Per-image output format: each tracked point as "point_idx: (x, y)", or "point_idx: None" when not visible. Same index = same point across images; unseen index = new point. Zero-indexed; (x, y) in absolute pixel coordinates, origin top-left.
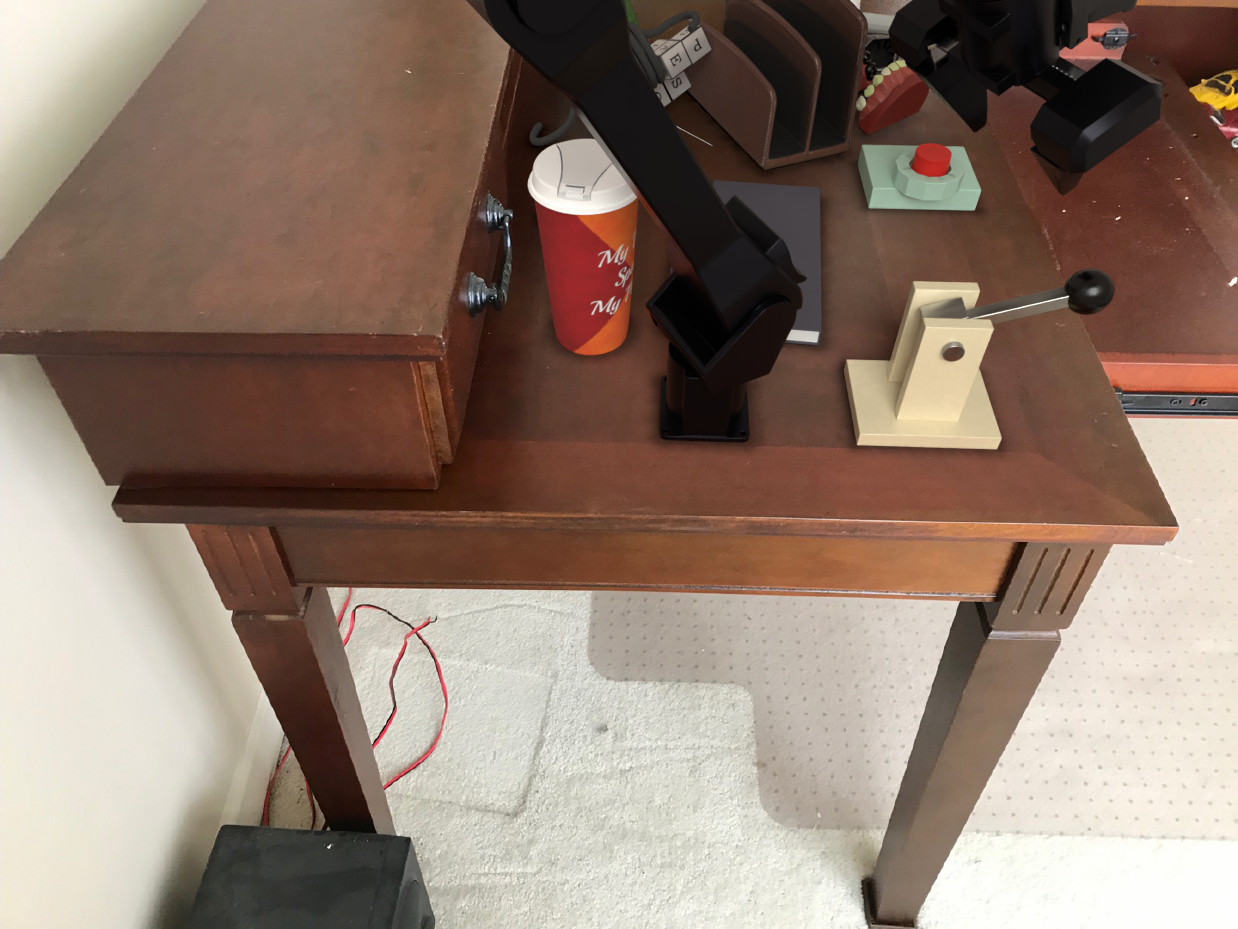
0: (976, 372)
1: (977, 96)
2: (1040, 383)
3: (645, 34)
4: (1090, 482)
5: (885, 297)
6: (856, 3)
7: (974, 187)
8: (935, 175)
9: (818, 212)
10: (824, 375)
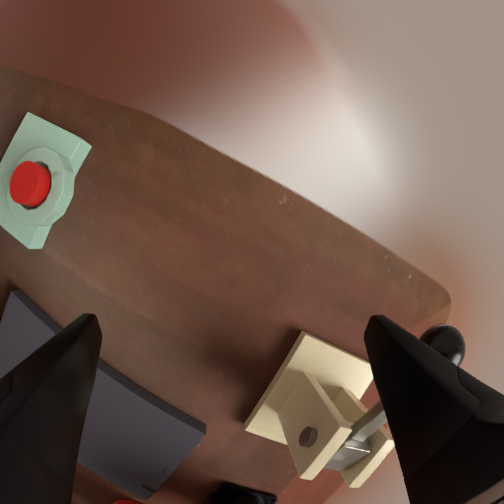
0: None
1: (63, 390)
2: (338, 280)
3: None
4: (422, 319)
5: (167, 333)
6: None
7: (75, 142)
8: (47, 190)
9: (40, 322)
10: (241, 436)
